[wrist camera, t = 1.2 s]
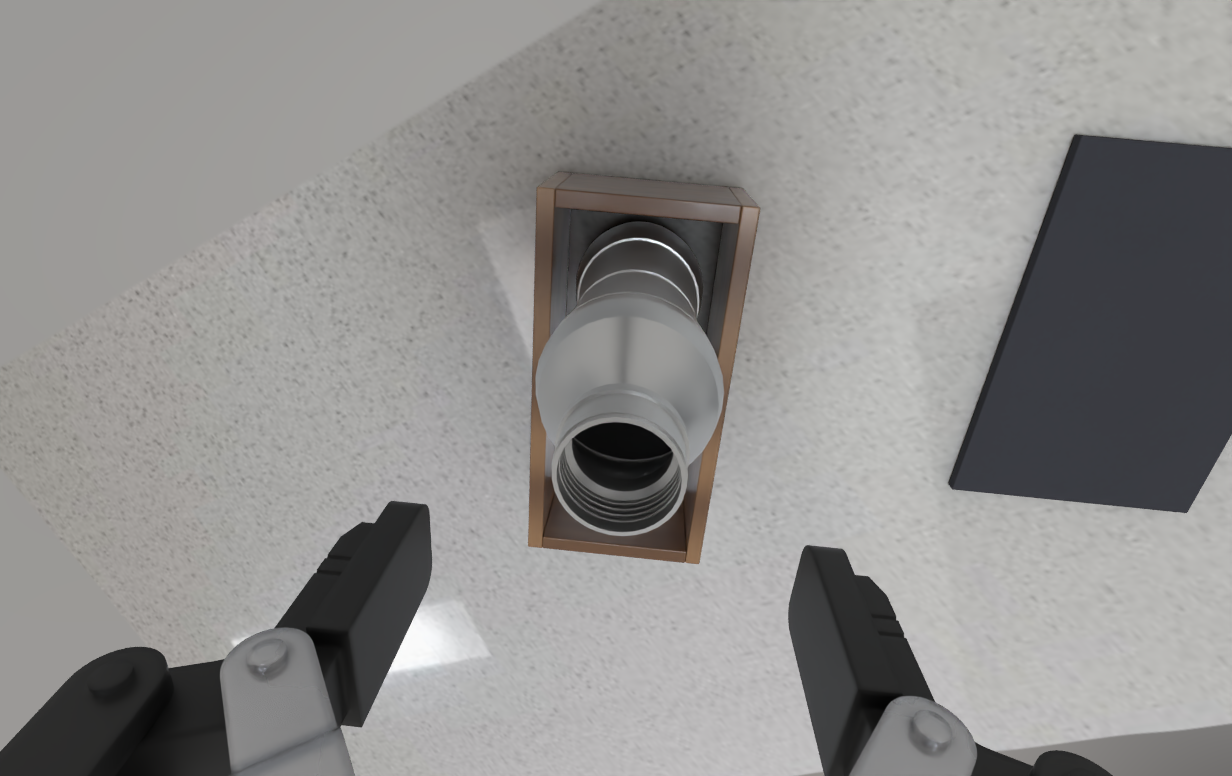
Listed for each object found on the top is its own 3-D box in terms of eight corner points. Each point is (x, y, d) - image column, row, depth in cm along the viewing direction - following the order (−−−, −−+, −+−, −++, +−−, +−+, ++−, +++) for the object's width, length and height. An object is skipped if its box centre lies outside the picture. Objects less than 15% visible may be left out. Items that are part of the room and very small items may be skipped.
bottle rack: (557, 171, 32) (536, 186, 27) (743, 188, 32) (760, 207, 27) (545, 486, 41) (527, 546, 35) (693, 501, 40) (699, 564, 35)
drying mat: (1074, 134, 30) (1082, 135, 30) (1374, 160, 30) (1387, 162, 29) (948, 484, 39) (951, 489, 38) (1179, 507, 38) (1187, 513, 38)
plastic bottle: (687, 199, 33) (719, 332, 14) (710, 321, 35) (763, 561, 17) (567, 228, 34) (458, 386, 15) (599, 344, 36) (538, 594, 18)
